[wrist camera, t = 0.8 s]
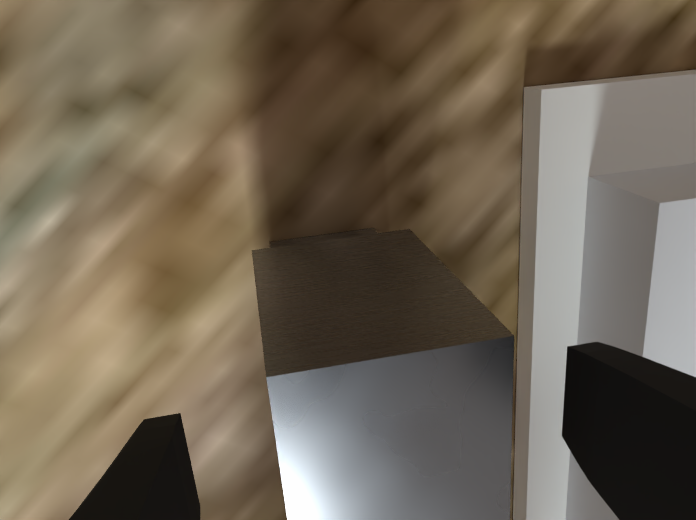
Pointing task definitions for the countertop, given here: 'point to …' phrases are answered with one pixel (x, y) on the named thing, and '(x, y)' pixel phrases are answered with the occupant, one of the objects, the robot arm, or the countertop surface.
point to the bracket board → (554, 240)
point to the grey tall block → (383, 381)
